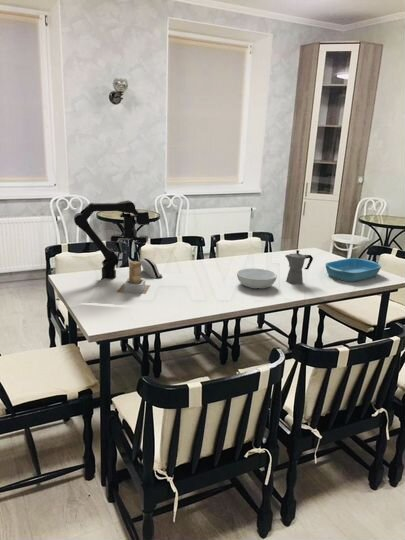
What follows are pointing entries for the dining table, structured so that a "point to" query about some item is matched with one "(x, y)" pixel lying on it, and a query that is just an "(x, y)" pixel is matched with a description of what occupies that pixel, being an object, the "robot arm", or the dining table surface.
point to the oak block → (135, 272)
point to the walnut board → (139, 293)
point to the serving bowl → (256, 277)
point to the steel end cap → (134, 287)
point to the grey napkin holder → (150, 268)
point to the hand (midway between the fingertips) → (129, 254)
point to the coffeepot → (296, 267)
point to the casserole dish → (352, 269)
